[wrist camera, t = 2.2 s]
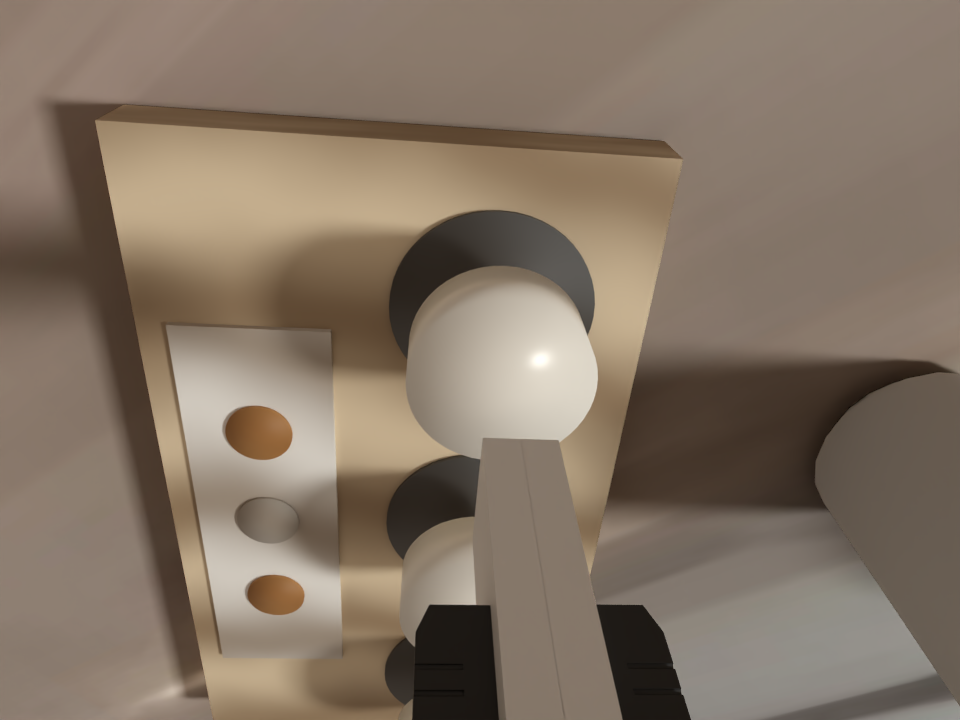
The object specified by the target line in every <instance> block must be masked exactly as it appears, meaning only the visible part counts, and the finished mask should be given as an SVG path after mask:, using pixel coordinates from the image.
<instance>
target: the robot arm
mask: <svg viewBox="0 0 960 720" xmlns="http://www.w3.org/2000/svg"><path fill="white" fill-rule="evenodd" d="M473 556H474V574H475V593H476V605H432V604H429V606H428V608H427V610H426V612H425V614H424V616H423V618H422V620H421V622H420V624H419V626H418V628H417V630H416V634H415V656H414V678H413V704H412V720H691V718H690V715H689V712H688V709H687V706H686V703H685V699H684V696H683V695H682V694H681V687H680V683H679V680H678V677H677V674H676V671H675V669H673V661H672V658H671V655H670V652H669V648H668V645H667V642H666V639H665V636H664V633H663V631H662V630H661V628H660V627H659V626H658V624H657V623H656V622H655V621H654V619H653V618H652V617H651V615H650V614H649V613H648V611H647V610H646V609H645V608H644V606H643V605H596V601H595V597H594V592H593V588H592V584H591V579H590V575H589V571H588V566H587V562H586V557H585V553H584V549H583V544H582V540H581V536H580V531H579V527H578V523H577V518H576V514H575V509H574V505H573V501H572V496H571V492H570V488H569V483H568V479H567V475H566V470H565V466H564V461H563V457H562V453H561V448H560V444H559V440H541V439H508V438H483V439H482V449H481V459H480V469H479V479H478V489H477V499H476V509H475V519H474V529H473Z"/></svg>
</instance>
